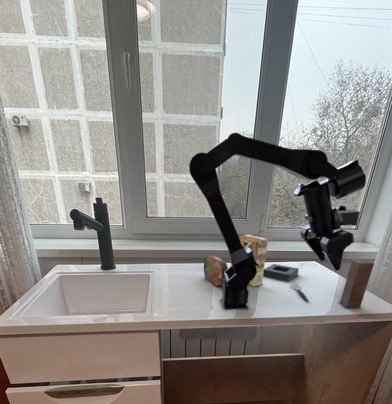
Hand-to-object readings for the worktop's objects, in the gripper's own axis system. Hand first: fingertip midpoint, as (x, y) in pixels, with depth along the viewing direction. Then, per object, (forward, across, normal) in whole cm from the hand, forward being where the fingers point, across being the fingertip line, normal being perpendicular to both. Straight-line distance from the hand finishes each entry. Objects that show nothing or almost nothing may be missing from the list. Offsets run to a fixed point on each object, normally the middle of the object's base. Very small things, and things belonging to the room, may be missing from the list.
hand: (329, 265), depth 77 cm
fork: (+10, +10, +7) cm, 16 cm away
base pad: (+9, +28, +8) cm, 31 cm away
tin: (-1, +20, +31) cm, 37 cm away
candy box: (+4, +20, +20) cm, 29 cm away
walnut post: (+14, 0, -3) cm, 15 cm away
